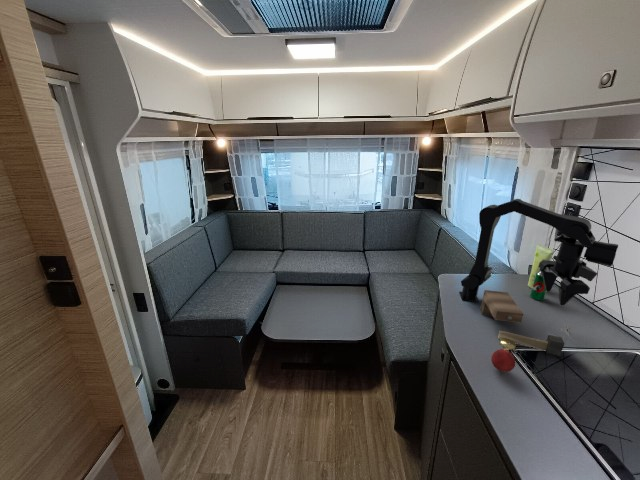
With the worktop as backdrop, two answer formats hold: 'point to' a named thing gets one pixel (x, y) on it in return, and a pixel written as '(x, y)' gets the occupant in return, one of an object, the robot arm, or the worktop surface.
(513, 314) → the walnut cabinet
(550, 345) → the wooden mallet
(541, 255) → the tube
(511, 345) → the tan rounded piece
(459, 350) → the worktop surface
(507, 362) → the onion
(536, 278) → the soda can
